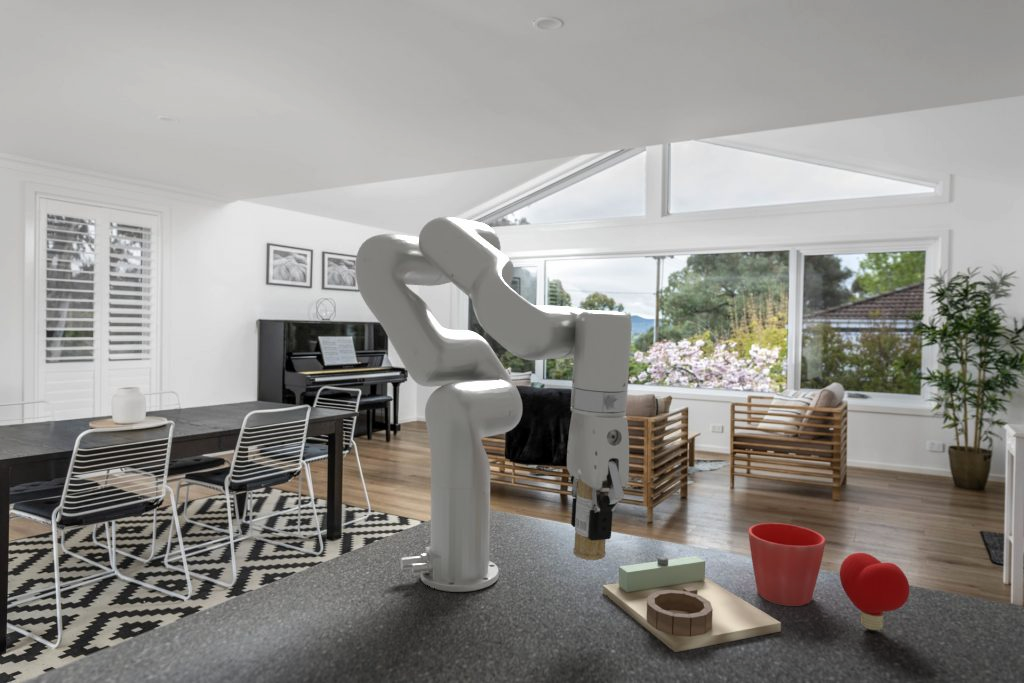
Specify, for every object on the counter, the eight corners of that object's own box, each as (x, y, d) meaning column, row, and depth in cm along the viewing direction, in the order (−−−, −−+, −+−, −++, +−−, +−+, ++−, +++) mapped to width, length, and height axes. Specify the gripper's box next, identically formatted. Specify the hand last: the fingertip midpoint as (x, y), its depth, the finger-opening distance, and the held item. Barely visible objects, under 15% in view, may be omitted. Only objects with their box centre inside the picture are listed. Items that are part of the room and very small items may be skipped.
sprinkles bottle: (610, 560, 91) (617, 463, 90) (579, 562, 90) (585, 464, 89) (597, 547, 96) (603, 455, 95) (567, 549, 94) (573, 455, 93)
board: (673, 652, 85) (674, 624, 85) (601, 593, 103) (601, 569, 103) (780, 631, 91) (781, 604, 91) (695, 578, 109) (696, 556, 109)
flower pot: (832, 614, 96) (834, 548, 96) (752, 607, 99) (753, 542, 98) (814, 585, 107) (816, 525, 106) (742, 579, 109) (743, 520, 109)
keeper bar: (626, 592, 100) (627, 567, 100) (618, 585, 102) (619, 561, 102) (704, 580, 105) (705, 556, 105) (695, 574, 107) (696, 550, 107)
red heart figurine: (824, 620, 95) (827, 550, 94) (860, 612, 97) (862, 544, 97) (884, 651, 86) (887, 575, 86) (921, 641, 89) (924, 567, 88)
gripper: (656, 412, 85) (646, 553, 86) (594, 391, 100) (586, 510, 102) (604, 413, 82) (594, 558, 83) (548, 391, 98) (541, 514, 99)
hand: (590, 530), depth 92 cm, fingers closed on sprinkles bottle, 4 cm apart
